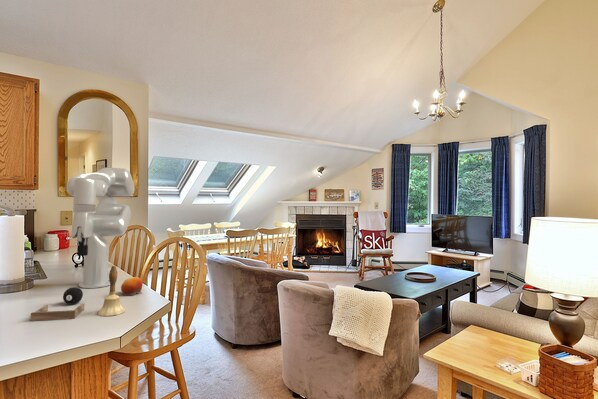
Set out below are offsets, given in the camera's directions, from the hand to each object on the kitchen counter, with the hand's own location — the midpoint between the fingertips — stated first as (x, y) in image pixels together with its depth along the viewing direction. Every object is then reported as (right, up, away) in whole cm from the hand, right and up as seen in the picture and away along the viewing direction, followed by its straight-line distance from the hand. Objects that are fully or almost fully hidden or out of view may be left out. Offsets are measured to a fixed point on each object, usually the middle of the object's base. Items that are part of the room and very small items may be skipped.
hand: (82, 255), depth 133 cm
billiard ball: (+2, -17, -9) cm, 19 cm away
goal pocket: (+6, -16, -21) cm, 27 cm away
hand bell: (+21, -17, -17) cm, 32 cm away
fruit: (+16, -17, +7) cm, 25 cm away
